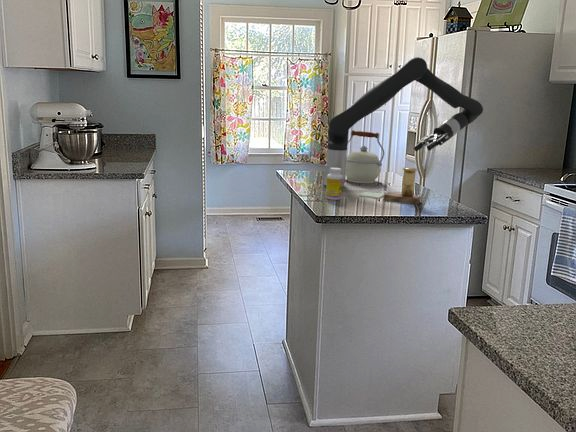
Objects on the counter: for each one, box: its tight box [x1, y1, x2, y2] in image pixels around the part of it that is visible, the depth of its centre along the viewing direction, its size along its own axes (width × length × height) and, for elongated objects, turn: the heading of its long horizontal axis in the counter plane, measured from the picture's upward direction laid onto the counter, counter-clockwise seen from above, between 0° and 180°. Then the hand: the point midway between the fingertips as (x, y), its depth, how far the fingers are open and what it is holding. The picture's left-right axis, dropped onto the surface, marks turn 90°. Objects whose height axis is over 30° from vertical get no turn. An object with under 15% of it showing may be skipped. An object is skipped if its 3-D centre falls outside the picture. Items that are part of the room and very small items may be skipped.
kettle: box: [345, 130, 385, 184], centre depth 281 cm, size 25×18×25 cm
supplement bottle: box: [325, 168, 343, 201], centre depth 234 cm, size 7×7×13 cm
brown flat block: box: [382, 191, 421, 206], centre depth 238 cm, size 14×7×2 cm, turn 66°
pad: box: [358, 191, 386, 200], centre depth 246 cm, size 9×9×1 cm
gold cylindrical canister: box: [401, 166, 418, 197], centre depth 236 cm, size 6×6×12 cm
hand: (421, 149), depth 239 cm, fingers open, 8 cm apart
